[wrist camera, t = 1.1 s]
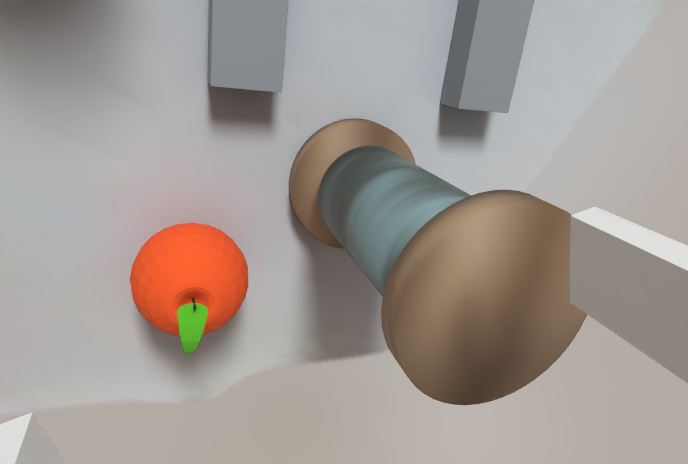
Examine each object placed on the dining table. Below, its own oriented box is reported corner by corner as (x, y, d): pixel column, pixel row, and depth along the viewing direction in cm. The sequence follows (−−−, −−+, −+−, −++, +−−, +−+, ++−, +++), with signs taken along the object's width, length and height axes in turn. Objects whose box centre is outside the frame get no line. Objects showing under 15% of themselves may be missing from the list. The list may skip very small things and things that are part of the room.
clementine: (235, 312, 36) (249, 373, 30) (132, 315, 33) (124, 381, 27) (245, 209, 33) (263, 252, 27) (134, 204, 31) (125, 250, 24)
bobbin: (284, 241, 35) (380, 418, 19) (294, 113, 32) (420, 200, 16) (397, 239, 38) (561, 391, 22) (417, 123, 35) (624, 203, 19)
